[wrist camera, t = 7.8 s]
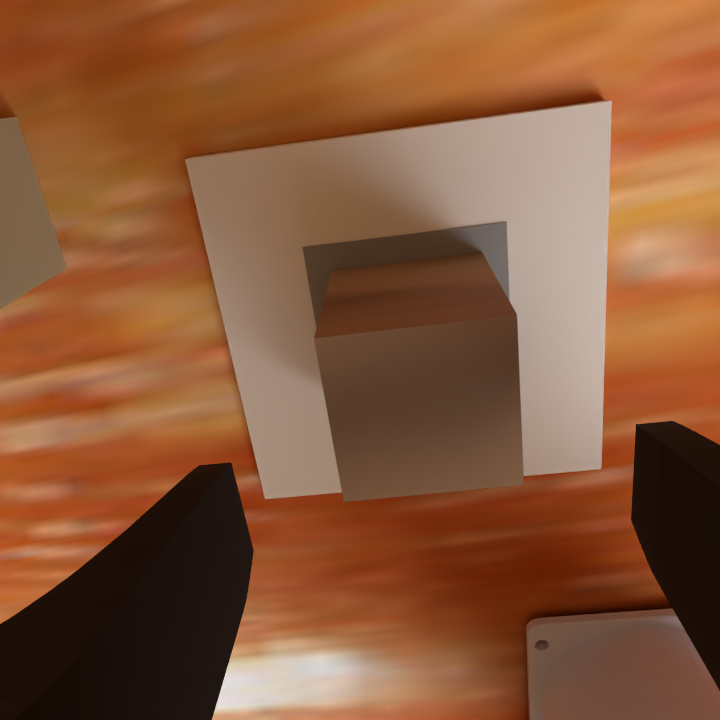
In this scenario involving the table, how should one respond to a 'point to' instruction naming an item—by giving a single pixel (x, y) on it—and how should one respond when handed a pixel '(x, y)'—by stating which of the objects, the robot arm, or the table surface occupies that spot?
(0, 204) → the sage block
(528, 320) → the white flat square plate
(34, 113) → the table surface
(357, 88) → the table surface
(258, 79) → the table surface
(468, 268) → the walnut block
